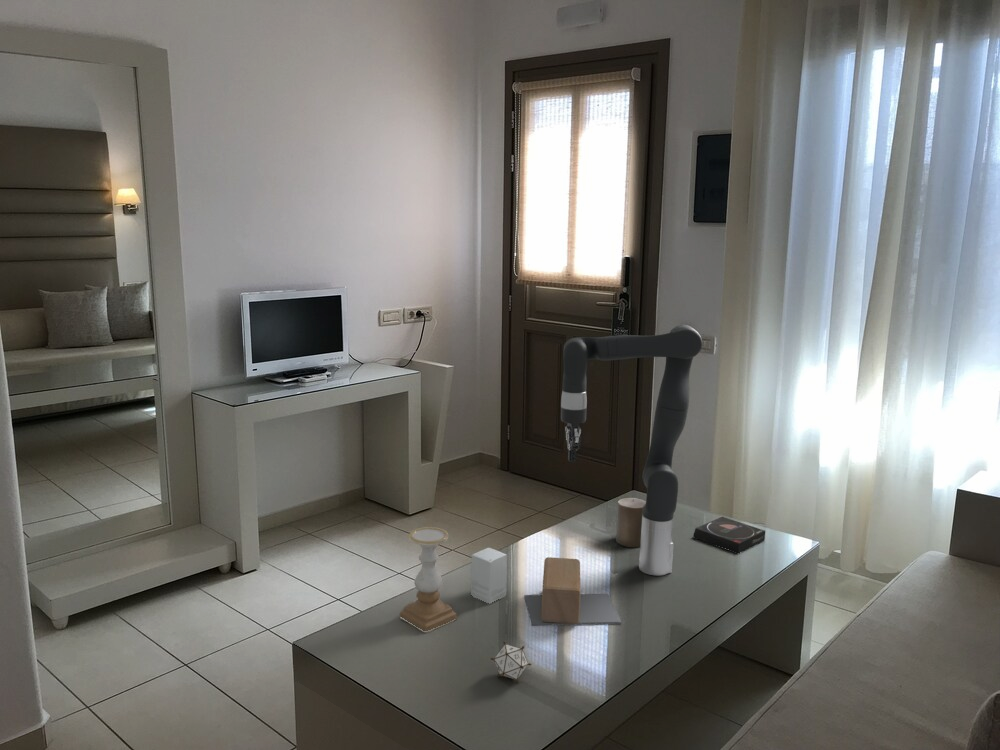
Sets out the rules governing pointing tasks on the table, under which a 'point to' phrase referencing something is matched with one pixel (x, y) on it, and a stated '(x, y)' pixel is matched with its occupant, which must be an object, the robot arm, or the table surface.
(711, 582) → the table surface
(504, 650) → the game die
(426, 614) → the candle holder
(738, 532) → the portable cd player
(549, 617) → the block
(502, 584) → the supplement box
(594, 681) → the table surface
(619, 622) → the mat
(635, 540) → the pillar candle
